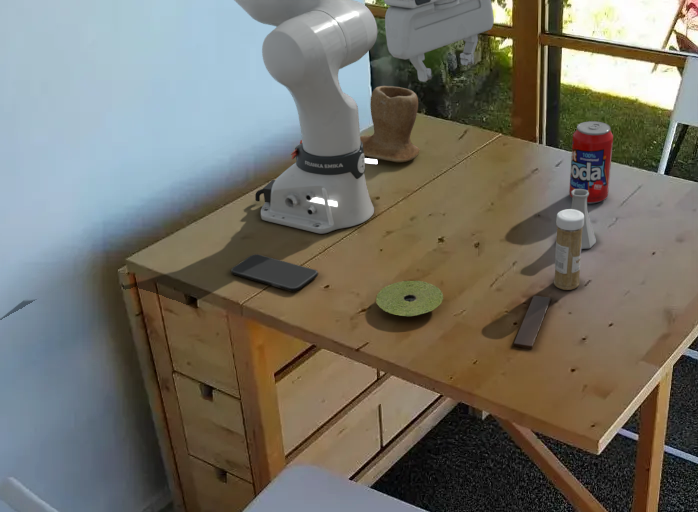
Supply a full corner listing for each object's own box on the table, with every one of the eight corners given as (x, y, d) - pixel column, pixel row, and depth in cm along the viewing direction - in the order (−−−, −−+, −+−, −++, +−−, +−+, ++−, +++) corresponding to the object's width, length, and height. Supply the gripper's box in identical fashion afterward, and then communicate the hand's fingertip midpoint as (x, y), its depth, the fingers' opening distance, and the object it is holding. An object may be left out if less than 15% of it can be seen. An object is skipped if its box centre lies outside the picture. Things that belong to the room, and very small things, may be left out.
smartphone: (254, 252, 172) (320, 270, 166) (255, 257, 173) (321, 275, 166) (227, 270, 167) (294, 289, 161) (228, 274, 167) (295, 294, 161)
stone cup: (430, 151, 211) (428, 85, 202) (402, 170, 203) (399, 103, 194) (374, 139, 217) (370, 75, 208) (345, 157, 209) (339, 91, 200)
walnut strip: (513, 346, 148) (513, 343, 147) (533, 298, 159) (533, 295, 159) (532, 349, 147) (532, 345, 147) (551, 300, 158) (551, 297, 158)
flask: (594, 252, 172) (598, 202, 166) (555, 249, 173) (558, 199, 167) (597, 234, 178) (601, 185, 172) (559, 231, 179) (562, 182, 173)
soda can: (614, 195, 191) (620, 124, 182) (597, 209, 186) (603, 137, 177) (579, 186, 195) (584, 116, 186) (562, 200, 189) (566, 129, 181)
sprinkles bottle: (583, 289, 161) (588, 218, 153) (557, 292, 161) (561, 221, 153) (574, 276, 165) (579, 206, 157) (549, 279, 164) (553, 209, 156)
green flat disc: (432, 329, 152) (432, 319, 151) (367, 320, 154) (366, 310, 153) (451, 294, 161) (451, 284, 160) (389, 286, 163) (388, 276, 162)
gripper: (471, -34, 152) (478, 52, 160) (374, -5, 141) (387, 86, 149) (498, -31, 148) (505, 57, 156) (401, -1, 137) (413, 92, 145)
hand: (446, 72), depth 152 cm, fingers open, 8 cm apart
